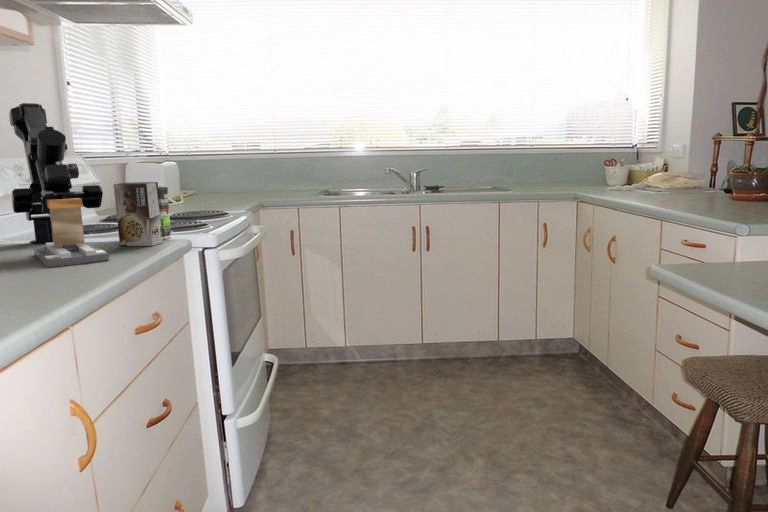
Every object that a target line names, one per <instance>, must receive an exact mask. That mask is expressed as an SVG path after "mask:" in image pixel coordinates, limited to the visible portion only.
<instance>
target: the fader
mask: <svg viewBox="0 0 768 512" xmlns="http://www.w3.org/2000/svg"><path fill="white" fill-rule="evenodd" d="M47 207H48V208H49V209H50V217H51V226H52V235H53V244H54V245H55V246H62V247H63V248H64V249H66V250H76V249H77V247H76V244H83V243H85V236H84V227H83V226H84V225H83V214H82V208H84V207H83V205H82V199H80V198H71V199H53V200H47Z"/></svg>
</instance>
